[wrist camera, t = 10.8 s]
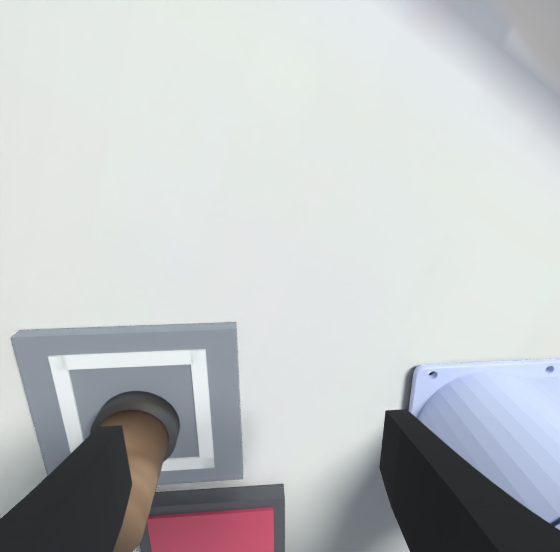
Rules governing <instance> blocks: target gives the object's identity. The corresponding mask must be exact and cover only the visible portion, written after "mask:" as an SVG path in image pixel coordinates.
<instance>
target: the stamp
mask: <svg viewBox="0 0 560 552" xmlns="http://www.w3.org/2000/svg"><path fill="white" fill-rule="evenodd" d="M117 425H122V427H123V433H124V439H125V445H126V450H127V456H128V462H129V467H130V473H131V479H132V488H131V492H130V496H129V501H128V505H127V509H126V513H125V517H124V520H123V524H122V527H121V530H120V533H119V536H118V539H117V542H116V544H115V547H114V550H113V552H132V551H133V550H134V549H135V548H136V547H137V546H138V545H139V544H140V542H141V540H142V537H143V534H144V530H145V526H146V523H147V519H148V516H149V512H150V508H151V505H152V501H153V497H154V494H155V490H156V487H157V483H158V479H159V476H160V472H161V468H162V465H163V462H164V461H166V460H167V459H168V458H169V457H170V456H171V454H172V453H173V451H174V449H175V446H176V442H177V438H178V434H179V430H180V421H179V417H178V414H177V412H176V410H175V409H174V408H173V406H172V405H171V404H170V403H169V402H168V401H166V400H165V399H163V398H162V397H160V396H158V395H156V394H153V393H149V392H144V391H128V392H124V393H121V394H118V395H116V396H114V397H112V398H111V399H109V400H108V401H107V402H106V403H105V404H104V405H103V406H102V408H101V410H100V411H99V413H98V415H97V417H96V418H95V420H94V422H93V424H92V426H91V430H90V434H91V433H92V432H93V431H95V430H96V429H97V428H98V427H99V426H117Z"/></svg>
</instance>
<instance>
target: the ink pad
mask: <svg viewBox="0 0 560 552" xmlns="http://www.w3.org/2000/svg"><path fill="white" fill-rule="evenodd" d="M140 545H141V551H142V552H285V496H284V486H283V484H276V485H262V486H247V487H232V488H217V489H202V490H188V491H173V492H158V493H155V494H154V497H153V501H152V505H151V508H150V512H149V516H148V519H147V523H146V526H145V530H144V534H143V537H142V540H141V542H140Z"/></svg>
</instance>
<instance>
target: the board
mask: <svg viewBox="0 0 560 552" xmlns="http://www.w3.org/2000/svg"><path fill="white" fill-rule="evenodd" d="M11 341H12V345H13V349H14V352H15V356H16V360H17V364H18V367H19V371H20V375H21V378H22V382H23V386H24V390H25V393H26V397H27V401H28V405H29V408H30V412H31V416H32V420H33V423H34V427H35V431H36V434H37V438H38V442H39V446H40V449H41V453H42V457H43V461H44V464H45V468H46V472H47V475H49V474H50V473H51V472H52V471H53V470H54V469H55V468H57V467H58V466H59V465H60V464H61V463H62V462H63V461H64V460H65V459H66V458H67V457H68V456H69V455H70V454H71V453H72V452H73V451H74V450H75V449H76V448H77V447H78V446H79V445H80V444H81V443H82V442H83V441H84V440H85V439H86V438H87V437H88V436H89V435H90V430H91V426H92V424H93V422H94V420H95V418H96V417H97V415H98V413H99V411H100V410H101V408H102V406H103V405H104V404H105V403H106V402H107V401H108V400H109V399H111V398H112V397H114V396H116V395H118V394H121V393H124V392H128V391H144V392H149V393H153V394H156V395H158V396H160V397H162V398H163V399H165V400H166V401H168V402H169V403H170V404H171V405H172V406H173V408H174V409H175V410H176V412H177V414H178V417H179V421H180V430H179V434H178V438H177V442H176V446H175V449H174V451H173V453H172V454H171V456H170V457H169V458H168V459H167V460H166V461H164V462H163V465H162V468H161V472H160V476H159V479H158V483H157V485H161V484H176V483H191V482H206V481H221V480H236V479H243V457H242V436H241V414H240V393H239V371H238V350H237V329H236V322H225V323H198V324H171V325H144V326H117V327H89V328H62V329H35V330H19V331H18V332H17V333H16V334H14V335H13V336H12V337H11Z"/></svg>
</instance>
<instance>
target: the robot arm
mask: <svg viewBox="0 0 560 552" xmlns="http://www.w3.org/2000/svg"><path fill="white" fill-rule="evenodd" d="M548 366H549V367H548ZM547 367H548V368H547ZM546 368H547V369H546ZM433 371H434V373H433V374H432V375H429V373H431V372H433ZM380 471H381V474H382V478H383V481H384V485H385V488H386V491H387V495H388V498H389V501H390V504H391V507H392V509H393V512H394V514H395V517H396V519H397V522H398V524H399V526H400V529H401V531H402V533H403V536H404V538H405V541H406V543H407V545H408V548H409V550H410V552H560V358H558V359H536V360H514V361H493V362H471V363H450V364H428V365H420V366H418V367H416V369H415V370H414V373H413V380H412V388H411V395H410V403H409V411H408V410H407V409H406V410H387V411H386V412H385V421H384V431H383V440H382V450H381V459H380ZM131 488H132V479H131V473H130V467H129V462H128V456H127V450H126V445H125V439H124V433H123V427H122V425H117V426H99V427H98V428H97V429H96V430H95V431H93V432H92V433H91V434H90V435H89V436H88V437H87V438H86V439H85V440H84V441H83V442H82V443H81V444H80V445H79V446H78V447H77V448H76V449H75V450H74V451H73V452H72V453H71V454H70V455H69V456H68V457H67V458H66V459H65V460H64V461H63V462H62V463H61V464H60V465H59V466H58V467H57V468H55V469H54V470H53V471H52V472H51V473H50V474H49V475H48V476H47V477H46V478H45V479H44V480H43V481H42V482H41V483H40V484H39V485H38V486H37V487H36V488H34V489H33V490H32V491H31V492H30V493H29V494H28V495H27V496H26V497H25V498H24V499H22V500H21V501H20V502H19V503H18V504H17V505H16V506H15V507H13V508H12V509H11V510H10V511H9V512H8V513H7V514H6V515H4V516H3V517H2V518H1V519H0V552H113V550H114V547H115V544H116V542H117V539H118V536H119V533H120V530H121V527H122V524H123V520H124V517H125V513H126V509H127V505H128V501H129V496H130V492H131Z"/></svg>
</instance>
